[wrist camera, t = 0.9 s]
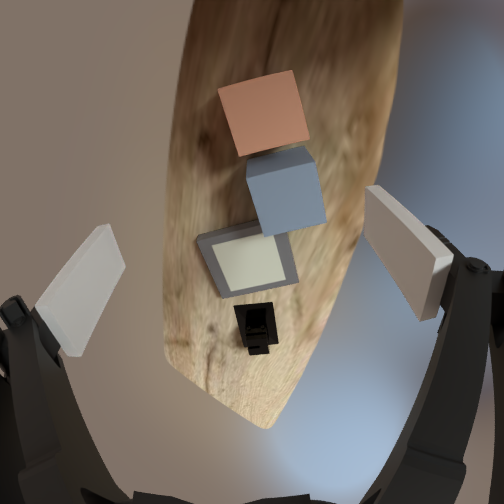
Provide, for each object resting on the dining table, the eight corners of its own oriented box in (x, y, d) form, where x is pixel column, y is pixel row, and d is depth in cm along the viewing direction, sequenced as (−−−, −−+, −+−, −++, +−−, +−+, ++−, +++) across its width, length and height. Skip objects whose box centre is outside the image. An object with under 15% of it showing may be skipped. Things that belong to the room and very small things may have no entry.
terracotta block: (284, 71, 24) (292, 69, 19) (299, 127, 28) (310, 139, 23) (224, 87, 25) (217, 89, 20) (241, 141, 29) (239, 156, 24)
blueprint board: (282, 213, 33) (283, 220, 32) (297, 275, 38) (299, 282, 36) (198, 235, 34) (196, 241, 33) (223, 291, 39) (222, 299, 38)
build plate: (225, 295, 40) (223, 319, 37) (279, 289, 40) (281, 313, 36) (241, 350, 47) (240, 373, 43) (285, 346, 46) (287, 368, 43)
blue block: (303, 145, 29) (315, 161, 24) (315, 197, 32) (326, 222, 27) (247, 159, 30) (246, 178, 25) (262, 209, 33) (264, 237, 28)
